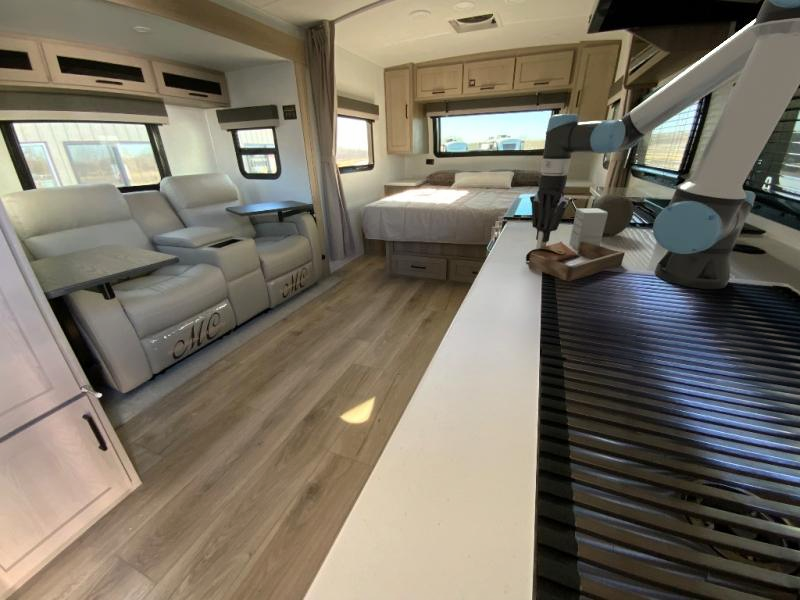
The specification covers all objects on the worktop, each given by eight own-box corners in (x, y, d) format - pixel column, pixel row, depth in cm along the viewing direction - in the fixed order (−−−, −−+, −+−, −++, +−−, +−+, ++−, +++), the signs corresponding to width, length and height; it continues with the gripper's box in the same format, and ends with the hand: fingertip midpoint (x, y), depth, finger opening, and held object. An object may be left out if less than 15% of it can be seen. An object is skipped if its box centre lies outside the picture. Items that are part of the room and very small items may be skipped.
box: (621, 265, 98) (625, 252, 96) (568, 281, 88) (571, 267, 86) (579, 253, 109) (582, 241, 107) (528, 266, 99) (530, 253, 97)
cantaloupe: (634, 240, 120) (647, 198, 114) (592, 239, 122) (603, 197, 116) (617, 230, 133) (628, 191, 126) (580, 229, 135) (588, 191, 128)
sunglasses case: (549, 268, 97) (542, 246, 97) (529, 273, 103) (523, 253, 103) (581, 255, 106) (575, 236, 106) (561, 261, 112) (555, 242, 112)
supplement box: (590, 244, 118) (598, 207, 112) (599, 250, 111) (609, 212, 105) (568, 243, 118) (576, 207, 113) (576, 250, 112) (584, 212, 106)
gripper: (527, 173, 101) (516, 247, 111) (564, 176, 91) (549, 258, 101) (544, 171, 104) (532, 244, 115) (581, 174, 94) (565, 254, 104)
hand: (540, 250), depth 108 cm, fingers closed
